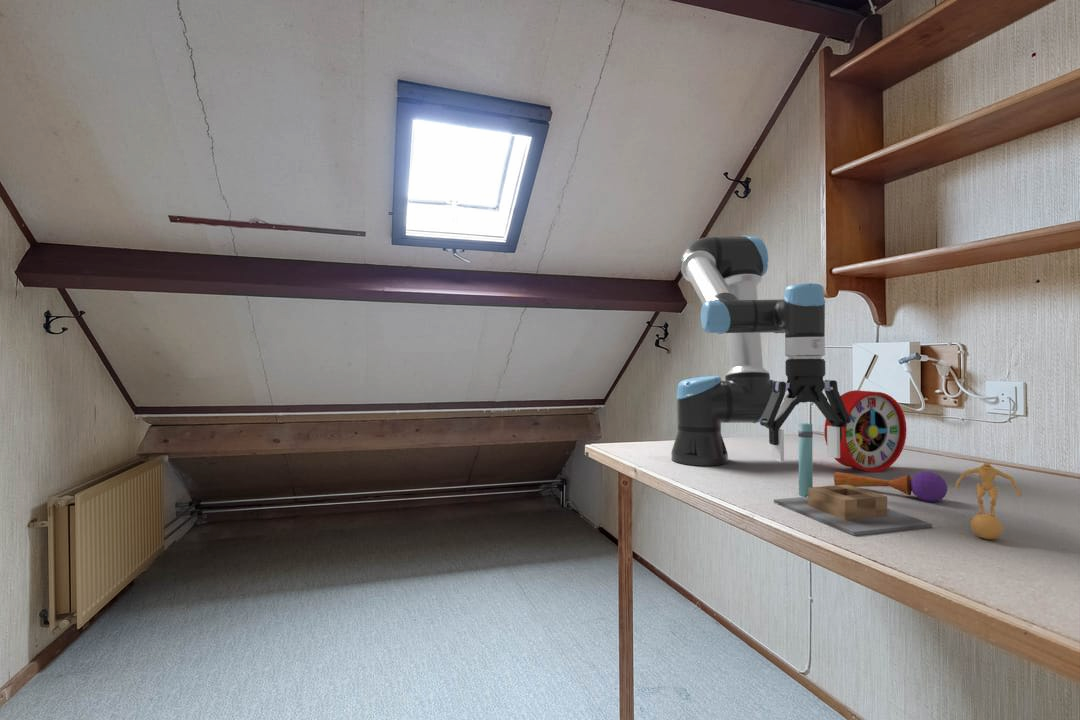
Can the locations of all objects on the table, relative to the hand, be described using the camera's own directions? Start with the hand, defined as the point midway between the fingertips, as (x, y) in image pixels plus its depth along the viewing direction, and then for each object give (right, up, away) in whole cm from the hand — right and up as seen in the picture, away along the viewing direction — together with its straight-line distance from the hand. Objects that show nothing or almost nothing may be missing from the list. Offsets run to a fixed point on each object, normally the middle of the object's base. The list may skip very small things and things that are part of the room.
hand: (806, 459), depth 111 cm
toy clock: (+27, -7, +23) cm, 36 cm away
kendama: (+18, -8, +1) cm, 19 cm away
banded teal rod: (0, -8, 0) cm, 8 cm away
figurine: (+16, -8, -26) cm, 31 cm away
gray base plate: (+1, -8, -13) cm, 15 cm away
